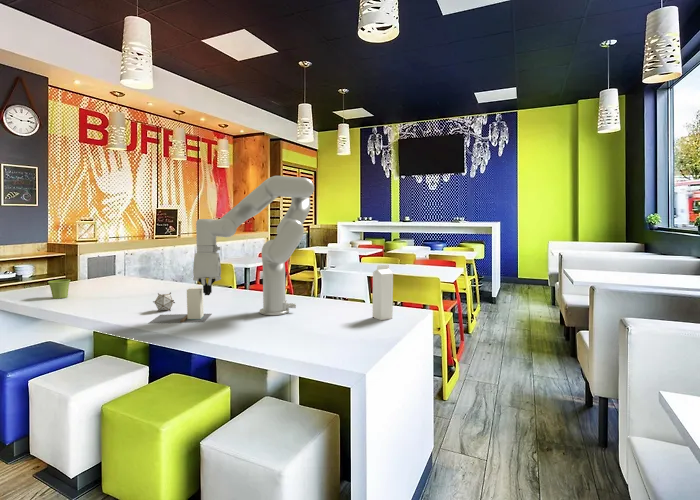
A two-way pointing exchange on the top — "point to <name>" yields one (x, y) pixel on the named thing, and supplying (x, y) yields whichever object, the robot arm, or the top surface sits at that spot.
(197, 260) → the robot arm
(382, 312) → the milk
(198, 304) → the cream block
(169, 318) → the mat
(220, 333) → the top surface
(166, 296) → the game die
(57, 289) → the plant pot
